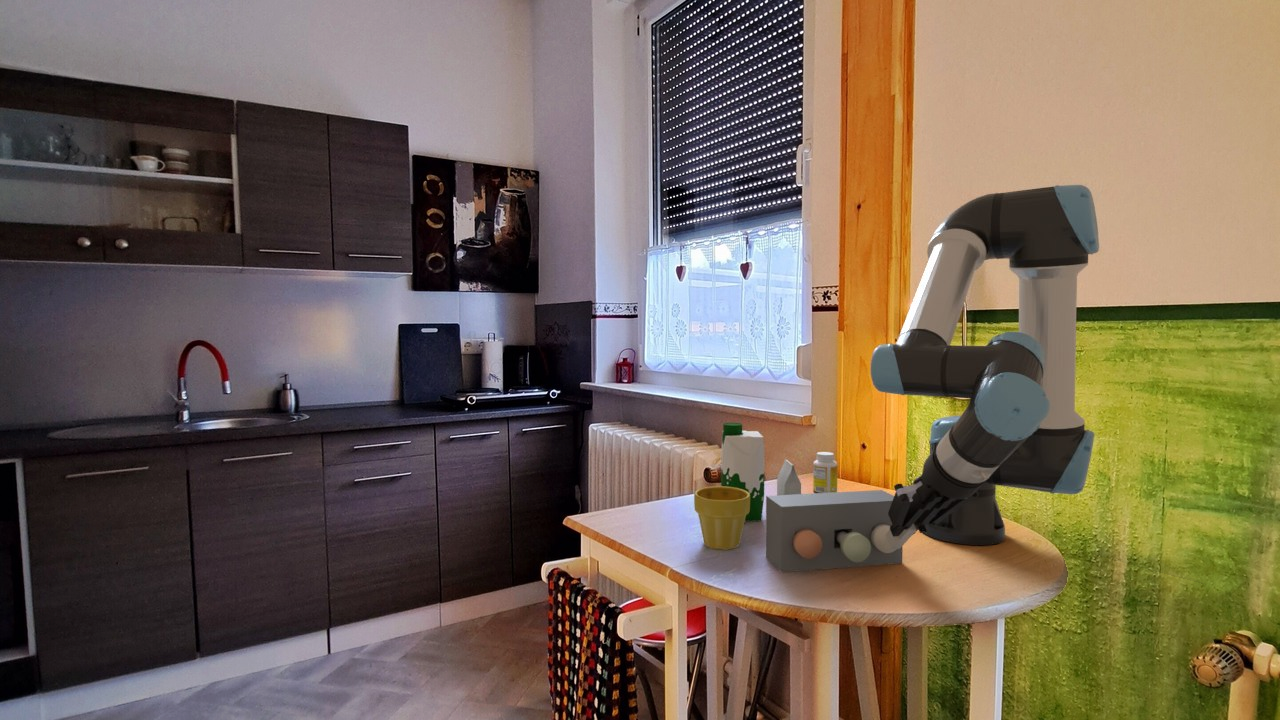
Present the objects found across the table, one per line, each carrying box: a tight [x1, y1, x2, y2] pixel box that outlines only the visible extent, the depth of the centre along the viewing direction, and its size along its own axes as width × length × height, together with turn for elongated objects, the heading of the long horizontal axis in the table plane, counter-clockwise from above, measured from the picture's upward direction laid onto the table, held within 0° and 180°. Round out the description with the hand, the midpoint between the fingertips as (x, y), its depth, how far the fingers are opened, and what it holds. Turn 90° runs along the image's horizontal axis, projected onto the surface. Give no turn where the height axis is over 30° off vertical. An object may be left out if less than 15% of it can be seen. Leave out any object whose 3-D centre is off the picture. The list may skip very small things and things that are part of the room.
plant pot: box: [693, 485, 750, 551], centre depth 121 cm, size 10×10×10 cm
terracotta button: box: [793, 529, 822, 559], centre depth 109 cm, size 4×6×4 cm
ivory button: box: [871, 524, 896, 553], centre depth 111 cm, size 4×6×4 cm
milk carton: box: [720, 422, 765, 522], centre depth 139 cm, size 9×9×20 cm
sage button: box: [835, 531, 871, 562], centre depth 107 cm, size 4×6×4 cm
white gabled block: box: [776, 459, 802, 495], centre depth 147 cm, size 4×7×10 cm, turn 2°
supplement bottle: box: [812, 451, 838, 494], centre depth 156 cm, size 6×6×10 cm
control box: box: [765, 489, 904, 573], centre depth 113 cm, size 22×7×11 cm, turn 100°
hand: (892, 541), depth 107 cm, fingers closed
